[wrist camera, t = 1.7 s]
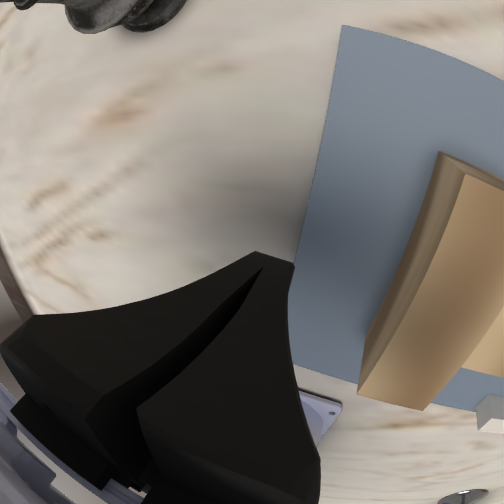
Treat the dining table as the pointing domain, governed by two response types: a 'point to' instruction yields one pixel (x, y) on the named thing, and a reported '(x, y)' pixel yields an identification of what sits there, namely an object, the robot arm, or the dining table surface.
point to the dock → (491, 414)
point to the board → (383, 192)
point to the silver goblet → (465, 497)
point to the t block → (442, 292)
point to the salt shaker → (113, 13)
